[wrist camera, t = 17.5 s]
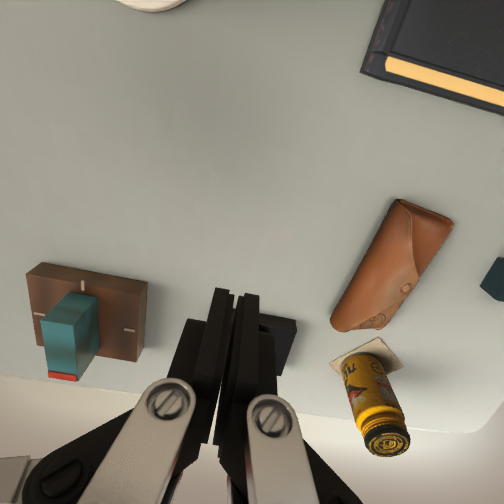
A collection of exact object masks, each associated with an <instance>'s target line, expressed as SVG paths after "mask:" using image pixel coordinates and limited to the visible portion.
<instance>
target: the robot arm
mask: <svg viewBox="0 0 504 504" xmlns="http://www.w3.org/2000/svg"><path fill="white" fill-rule="evenodd" d="M116 1H118V2H120V3H121V4H123V5H125V6H128V7H130V8H133V9H135V10H139V11H145V12H159V11H165V10H168V9H171V8H174V7H176V6H178V5H179V4H181V3H183V2H184V1H186V0H116ZM229 291H230V290H227V289H222V288H217V287H216V288H215V291H214V295H213V299H212V303H211V307H210V311H209V315H208V319H207V322H205V321H200V320H194V319H189V318H188V319H187V321H186V323H185V326H184V329H183V332H182V335H181V338H180V341H179V343H178V346H177V349H176V352H175V355H174V358H173V361H172V364H171V366H170V369H169V372H168V375H167V378H164V379H161V380H158V381H155V382H154V383H153V384H151V385H150V386H149V387H148V388H147V389H146V390H145V391H144V393H143V394H142V396H141V398H140V400H139V401H138V403H137V404H136V406H135V408H133V409H131V410H129V411H127V412H126V413H124V414H122V415H120V416H118V417H116V418H114V419H112V420H110V421H109V422H107V423H105V424H103V425H101V426H99V427H97V428H96V429H94V430H92V431H90V432H88V433H87V434H85V435H83V436H81V437H79V438H77V439H75V440H73V441H71V442H70V443H68V444H66V445H64V446H62V447H61V448H59V449H57V450H55V451H53V452H51V453H50V454H49V455H47V456H46V457H44V458H41V459H31V458H30V455H29V456H18V457H6V458H0V504H172V502H173V500H174V497H175V494H176V491H177V489H178V486H179V483H180V480H181V477H182V475H183V470H184V469H185V468H186V467H188V466H189V465H190V464H192V463H193V462H194V461H196V460H197V459H198V455H199V450H200V446H201V443H205V444H207V443H208V439H209V434H210V430H211V426H212V421H213V417H214V412H215V408H216V404H217V399H218V395H219V391H220V397H219V404H218V411H217V418H216V425H215V431H214V438H213V445H217V446H219V449H218V458H220V461H219V462H220V464H221V465H222V467H223V468H224V470H225V471H226V472H227V474H228V475H227V498H228V504H363V503H362V502H361V500H360V499H359V498H358V497H357V496H356V494H355V493H354V492H353V491H352V490H351V489H350V488H349V487H348V486H347V485H346V484H345V483H344V482H343V481H342V480H341V479H340V477H339V476H337V474H336V473H335V472H334V471H333V470H332V469H331V468H330V467H329V466H328V465H327V464H326V463H325V462H324V461H323V459H321V458H320V456H319V455H318V454H317V453H316V452H315V451H314V450H313V449H312V448H311V447H310V446H309V445H308V443H307V442H306V441H305V440H304V439H303V438H302V434H301V430H300V426H299V422H298V418H297V416H296V413H295V411H294V409H293V408H292V407H291V405H290V404H289V403H288V402H287V401H285V400H284V399H283V398H280V397H278V394H277V374H276V354H275V337H274V334H271V333H266V332H260V331H259V295H254V294H248V293H245V295H244V296H239V297H238V302H237V306H236V310H235V315H234V319H233V324H232V328H231V333H230V337H229V342H228V336H229V329H230V323H231V316H232V309H233V302H234V295H233V294H229ZM227 343H228V346H227ZM226 350H227V351H226ZM222 376H223V377H222ZM221 382H222V384H221ZM220 386H221V390H220Z"/></svg>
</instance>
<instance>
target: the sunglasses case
mask: <svg viewBox="0 0 504 504" xmlns="http://www.w3.org/2000/svg"><path fill="white" fill-rule="evenodd" d="M453 226H454V223H453V222H452V221H451V220H450V219H449V218H447V217H445V216H442V215H440V214H437V213H435V212H432V211H430V210H427V209H425V208H422V207H420V206H417V205H415V204H413V203H410V202H407V201H405V200H402V199H396V200H395V201H394V202H393V203H392V205H391V206H390V208H389V210H388V212H387V214H386V216H385V218H384V220H383V221H382V224H381V226H380V228H379V230H378V232H377V234H376V235H375V237H374V239H373V241H372V243H371V245H370V247H369V249H368V250H367V253H366V254H365V256H364V258H363V260H362V261H361V263H360V265H359V267H358V269H357V271H356V272H355V274H354V276H353V278H352V280H351V281H350V283H349V285H348V287H347V289H346V290H345V292H344V294H343V296H342V297H341V299H340V301H339V303H338V304H337V306H336V308H335V309H334V312H333V313H332V315H331V317H330V323H331V325H332V327H333V328H334V329H336V330H337V331H339V332H347V331H350V330H356V329H371V328H373V329H377V330H381V329H382V328H383V327H385V326H386V325H387V323H388V322H389V321H390V320H391V318H392V317H393V316H394V314H395V313H396V311H397V310H398V308H399V307H400V306H401V304H402V303H403V301H404V300H405V298H406V297H407V296H408V295H409V294H410V293H411V292H412V290H413V289H414V287H415V286H416V284H417V283H418V281H419V278H420V276H421V275H422V273H423V272H424V271H425V269H426V268H427V266H428V265H429V264H430V262H431V261H432V259H433V258H434V256H435V255H436V253H437V252H438V250H439V249H440V248H441V246H442V245H443V243H444V242H445V240H446V239H447V237H448V236H449V234H450V232H451V231H452V228H453Z"/></svg>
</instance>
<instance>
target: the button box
mask: <svg viewBox="0 0 504 504" xmlns="http://www.w3.org/2000/svg"><path fill="white" fill-rule="evenodd" d="M235 310H236V309H232V316H231V323H230V329H229V336H228V342H229V337H230V333H231V328H232V324H233V319H234V315H235ZM259 331H260V332H266V333H271V334H274V337H275V354H276V374H277V376H281V375H282V372H283V369H284V366H285V363H286V360H287V358H288V355H289V352H290V349H291V346H292V343H293V341H294V338H295V335H296V332H297V327H296V320H292V319H286V318H281V317H275V316H270V315H265V314H259ZM227 346H228V343H227ZM226 351H227V350H226Z"/></svg>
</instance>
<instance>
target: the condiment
mask: <svg viewBox="0 0 504 504" xmlns="http://www.w3.org/2000/svg"><path fill="white" fill-rule="evenodd" d="M329 365H331V366H332V367H333V369H335V370H336V371H337V372H338V373H339V374H340V375H341V376H342V377H343V380H344V385H345V387H346V390H347V394H348V398H349V402H350V404H351V408H352V411H353V415H354V419H355V423H356V425H357V427H358V429H359V430H360V431H361V433H362V436H363V438H364V441H365V446H366V448H367V449H368V450H369V451H370V452H371V453H372V454H373V455H377V456H380V457H392V456H397V455H400V454H402V453H404V452H405V451H406V450H407V449H408V448H409V445H410V435H409V434H408V432H407V428H406V425H405V423H404V421H405V417H404V414H403V412H402V409H401V407H400V405H399V403H398V400H397V398H396V396H395V394H394V392H393V389H392V387H391V385H390V383H389V380H388V378H387V376H386V375H387V374H389V373H391V372H393V371H396V370H399V369H400V368H402V367H403V365H402V364H401V363H400V362H399V361H398V359H397V358H396V357H395V356H394V355H393V353H392V352H391V351H390V350H389V349H388V348H387V347H386V345H385V344H384V343H383V342H382V341H381V340H380V339H379V337H378V338H376V339H375V340H373V341H371V342H369V343H367V344H366V345H363V346H361V347H360V348H358V349H356V350H354V351H351V352H349V353H348V354H346V355H344V356H342V357H340V358H338V359H337V360H335V361H333V362H331V363H330V364H329Z"/></svg>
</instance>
